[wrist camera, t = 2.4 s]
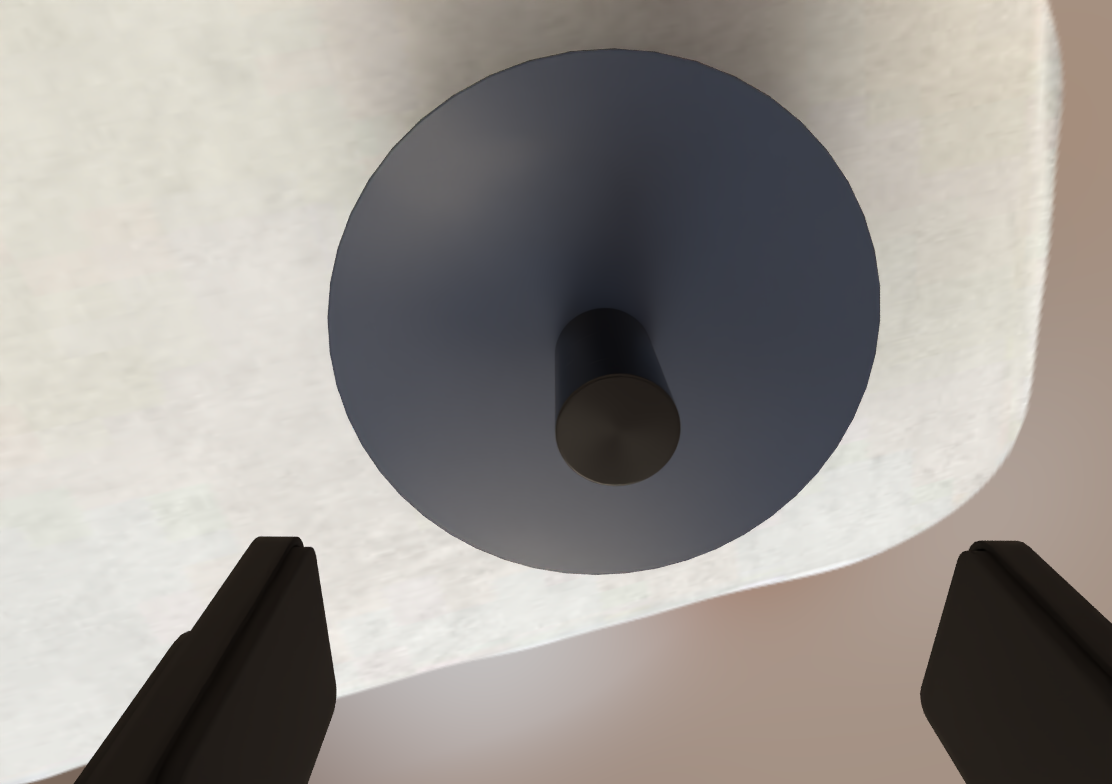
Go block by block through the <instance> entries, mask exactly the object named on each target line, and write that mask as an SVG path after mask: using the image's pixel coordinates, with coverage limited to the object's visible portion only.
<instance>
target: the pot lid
mask: <svg viewBox="0 0 1112 784" xmlns="http://www.w3.org/2000/svg"><path fill="white" fill-rule="evenodd" d="M879 324H880V283H879V276H878V270H877V263H876V256H875V250H874V246H873V243H872V240H871V236H870V233H869V230H868V226H867V223H866V220H865V216H864V214H863V212H862V210H861V207H860V205H859V203H858V201H857V199H856V197H855V195H854V193H853V190H852V188H851V186H850V184H849V182H848V180H847V179H846V177H845V176H844V174H843V173H842V171H841V170H840V168H839V167H838V165H837V164H836V162H835V161H834V160H833V158H832V157H831V155H830V154H829V152H828V151H827V149H826V148H825V147H824V146H823V145H822V144H821V143H820V142H819V141H818V140H817V138H816V137H815V136H814V135H813V134H812V133H811V132H810V131H809V130H808V129H807V128H806V126H805V125H804V124H803V123H802V122H801V121H800V120H799V119H797V118H796V117H795V116H794V115H792V114H791V113H790V112H789V111H787V110H786V109H785V108H784V107H782V106H781V105H780V104H779V103H777V102H776V101H775V100H774V99H772V98H771V97H770V96H768V95H766V94H765V93H763V92H761V91H760V90H758V89H756V88H754V87H753V86H751V85H749V84H747V83H746V82H744V81H742V80H741V79H739V78H737V77H735V76H733V75H731V74H728V73H725V72H723V71H720V70H718V69H715V68H713V67H710V66H708V65H705V64H703V63H700V62H698V61H694V60H690V59H685V58H681V57H677V56H672V55H668V54H664V53H659V52H653V51H641V50H628V49H615V48H612V49H597V50H582V51H570V52H565V53H561V54H556V55H551V56H547V57H542V58H538V59H533V60H529V61H526V62H523V63H521V64H518V65H515V66H513V67H510V68H507V69H505V70H502V71H499V72H497V73H494V74H491V75H489V76H487V77H485V78H484V79H482V80H480V81H478V82H476V83H474V84H473V85H471V86H469V87H467V88H465V89H464V90H462V91H460V92H458V93H456V94H454V95H453V96H451V97H450V98H449V99H447V100H446V101H445V102H443V103H442V104H441V105H439V106H438V107H437V108H435V109H434V110H433V111H431V112H430V113H429V114H427V115H426V116H425V117H423V118H422V119H421V120H420V121H419V122H418V123H417V124H416V125H415V126H414V127H413V128H412V129H411V130H410V131H409V132H408V133H407V134H406V135H405V136H404V137H403V138H402V139H401V140H400V141H399V142H398V143H397V144H396V145H395V146H394V147H393V148H392V149H391V151H390V152H389V153H388V155H387V156H386V157H385V159H384V160H383V161H382V163H381V164H380V165H379V167H378V168H377V169H376V171H375V172H374V173H373V175H372V176H371V177H370V179H369V180H368V182H367V184H366V186H365V188H364V189H363V191H362V193H361V195H360V197H359V199H358V200H357V202H356V204H355V206H354V208H353V210H352V212H351V214H350V216H349V219H348V222H347V224H346V227H345V230H344V232H343V235H342V238H341V240H340V243H339V246H338V249H337V254H336V258H335V263H334V268H333V272H332V277H331V281H330V292H329V305H328V332H329V348H330V356H331V361H332V365H333V370H334V375H335V380H336V385H337V388H338V391H339V394H340V396H341V399H342V402H343V405H344V408H345V411H346V414H347V416H348V419H349V421H350V422H351V424H352V426H353V428H354V430H355V432H356V434H357V436H358V438H359V440H360V442H361V444H362V446H363V448H364V449H365V450H366V452H367V453H368V455H369V456H370V458H371V459H372V461H373V462H374V464H375V465H376V467H377V468H378V470H379V471H380V472H381V474H382V475H383V476H384V477H385V478H386V479H387V480H388V481H389V483H390V484H391V485H392V486H393V487H394V488H395V489H396V491H397V492H398V493H399V494H400V495H401V496H402V497H403V498H404V499H405V500H406V501H408V502H409V503H410V504H411V505H412V506H413V507H414V508H415V509H417V510H418V511H419V512H420V513H421V514H422V515H423V516H425V517H426V518H427V519H429V520H430V521H432V522H433V523H435V524H436V525H437V526H439V527H440V528H442V529H443V530H445V531H446V532H447V533H449V534H451V535H452V536H454V537H456V538H458V539H460V540H462V541H464V542H465V543H467V544H469V545H471V546H473V547H475V548H477V549H479V550H482V551H484V552H487V553H489V554H492V555H494V556H497V557H499V558H502V559H504V560H507V561H511V562H514V563H518V564H522V565H525V566H529V567H532V568H537V569H543V570H549V571H555V572H562V573H573V574H591V575H600V574H620V573H631V572H637V571H643V570H650V569H656V568H660V567H664V566H668V565H671V564H675V563H679V562H682V561H686V560H689V559H692V558H694V557H697V556H699V555H702V554H705V553H707V552H710V551H712V550H715V549H717V548H719V547H721V546H723V545H725V544H727V543H729V542H731V541H733V540H735V539H737V538H738V537H740V536H742V535H744V534H746V533H747V532H749V531H750V530H752V529H753V528H755V527H756V526H758V525H759V524H761V523H762V522H764V521H765V520H767V519H768V518H770V517H771V516H773V515H774V514H775V513H776V512H777V511H778V510H780V509H781V508H782V507H783V506H784V505H786V504H787V503H788V502H789V501H790V500H792V499H793V498H794V497H795V496H796V495H797V494H798V493H799V492H800V491H801V490H802V489H803V488H804V487H805V486H806V485H807V484H808V483H809V481H810V480H811V479H812V478H813V477H814V476H815V475H816V474H817V473H818V472H819V470H820V469H821V468H822V466H823V465H824V464H825V462H826V461H827V460H828V458H829V457H830V456H831V454H832V453H833V452H834V450H835V449H836V448H837V446H838V444H839V443H840V441H841V439H842V438H843V436H844V434H845V432H846V431H847V429H848V427H849V425H850V424H851V422H852V420H853V418H854V416H855V414H856V411H857V409H858V406H859V404H860V402H861V399H862V397H863V395H864V392H865V390H866V387H867V384H868V380H869V376H870V373H871V369H872V365H873V362H874V358H875V354H876V347H877V339H878V332H879Z"/></svg>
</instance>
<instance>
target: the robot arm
mask: <svg viewBox="0 0 1112 784" xmlns="http://www.w3.org/2000/svg"><path fill="white" fill-rule="evenodd" d="M920 696H921V704H922V708H923V711H924V714H925V716H926V718H927V720H928V721H929V723H930V725H931V726H932V728H933V729H934V731H935V733H936V734H937V736H938V737H939V739H940V741H941V743H942V744H943V746H944V748H945V749H946V751H947V753H948V754H949V756H950V757H951V759H952V761H953V762H954V764H955V766H956V767H957V769H958V771H959V772H960V774H961V776H962V777H963V779H964V781H965V782H966V784H1112V623H1111V622H1109V621H1108V620H1107V619H1106V618H1105V617H1104V616H1103V615H1102V614H1101V613H1100V612H1099V611H1098V610H1097V609H1096V608H1094V607H1093V606H1092V605H1091V604H1090V603H1089V602H1088V601H1087V600H1086V599H1085V598H1084V597H1083V596H1081V595H1080V594H1079V593H1078V592H1077V591H1076V590H1075V589H1074V588H1073V587H1072V586H1071V585H1070V584H1068V582H1067V581H1065V580H1064V579H1063V578H1062V577H1061V576H1060V575H1059V574H1058V573H1057V572H1056V571H1055V570H1054V569H1052V567H1050V566H1049V565H1048V564H1047V563H1046V562H1045V561H1044V560H1043V559H1042V558H1041V557H1040V556H1039V555H1038V554H1037V553H1035V552H1034V551H1033V550H1032V549H1031V548H1030V547H1029V546H1027V545H1026V544H1025V543H1023V542H1020V541H977V542H974V543H973V544H972V545H971V547H970V549H969V551H964V552H962V553H961V554H960V556H959V558H958V560H957V564H956V567H955V571H954V575H953V578H952V581H951V585H950V588H949V592H948V595H947V599H946V602H945V606H944V610H943V613H942V616H941V620H940V623H939V627H938V630H937V634H936V637H935V641H934V644H933V648H932V652H931V655H930V659H929V662H928V666H927V669H926V673H925V676H924V679H923V683H922V686H921V692H920ZM335 703H336V681H335V675H334V668H333V662H332V656H331V649H330V643H329V636H328V630H327V623H326V617H325V611H324V604H323V598H322V591H321V585H320V578H319V572H318V566H317V559H316V554H315V551H314V549H313V548H312V547H304V546H303V542H302V541H301V539H300V538H299V537H257V538H256V539H255V540H254V541H253V542H252V543H251V544H250V546H249V547H248V549H247V550H246V552H245V553H244V555H243V556H242V557H241V559H240V560H239V562H238V563H237V565H236V566H235V568H234V569H233V570H232V572H231V573H230V575H229V576H228V578H227V579H226V581H225V582H224V583H223V585H222V586H221V588H220V589H219V591H218V592H217V594H216V595H215V596H214V598H213V599H212V601H211V602H210V604H209V605H208V607H207V608H206V609H205V611H204V612H203V614H202V615H201V617H200V618H199V620H198V621H197V622H196V624H195V625H194V627H193V628H192V630H191V631H188V632H186V633H184V634H182V635H180V637H179V638H178V639H177V640H176V641H175V642H174V643H173V644H172V646H171V647H170V649H169V650H168V651H167V653H166V654H165V656H164V657H163V658H162V660H161V661H160V663H159V664H158V665H157V667H156V668H155V670H154V671H153V673H152V674H151V675H150V677H149V678H148V680H147V681H146V682H145V684H144V685H143V687H142V688H141V689H140V691H139V692H138V694H137V695H136V697H135V698H134V699H133V701H132V702H131V704H130V705H129V706H128V708H127V709H126V711H125V712H124V713H123V715H122V716H121V718H120V719H119V721H118V722H117V723H116V725H115V726H114V728H113V729H112V730H111V732H110V733H109V735H108V736H107V737H106V739H105V740H104V742H103V743H102V744H101V746H100V747H99V749H98V750H97V752H96V753H95V754H94V756H93V757H92V759H91V760H90V761H89V763H88V764H87V766H86V767H85V768H84V770H83V772H82V773H81V775H80V776H79V777H78V778H77V780H76V781H75V783H74V784H308V781H309V778H310V776H311V773H312V770H313V767H314V765H315V762H316V759H317V756H318V754H319V751H320V748H321V746H322V743H323V740H324V737H325V735H326V732H327V729H328V726H329V724H330V721H331V718H332V715H333V712H334V708H335Z"/></svg>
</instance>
